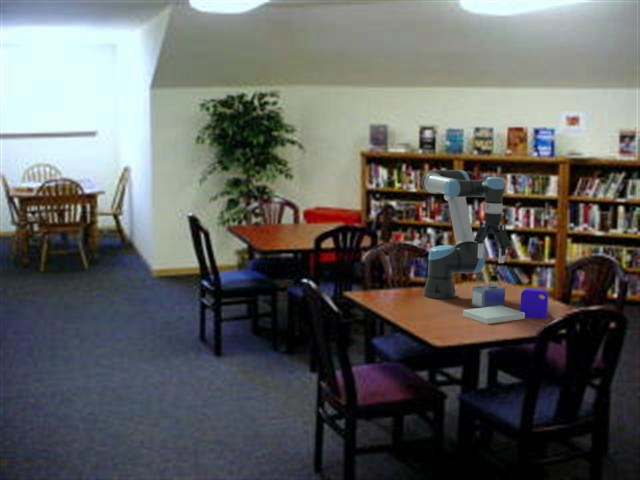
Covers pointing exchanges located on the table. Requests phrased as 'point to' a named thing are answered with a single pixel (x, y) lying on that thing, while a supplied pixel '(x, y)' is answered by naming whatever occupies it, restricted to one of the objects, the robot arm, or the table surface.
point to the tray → (493, 314)
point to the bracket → (534, 303)
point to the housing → (488, 296)
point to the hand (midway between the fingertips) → (490, 260)
